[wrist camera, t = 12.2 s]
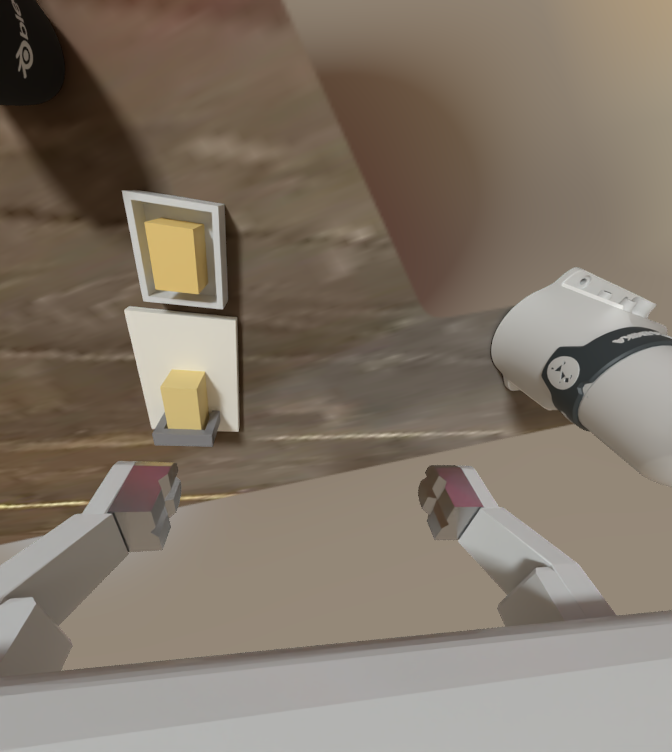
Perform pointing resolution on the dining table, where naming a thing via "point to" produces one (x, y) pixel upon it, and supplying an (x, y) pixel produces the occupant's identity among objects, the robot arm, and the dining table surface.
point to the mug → (28, 55)
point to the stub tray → (185, 209)
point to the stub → (177, 255)
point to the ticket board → (187, 354)
